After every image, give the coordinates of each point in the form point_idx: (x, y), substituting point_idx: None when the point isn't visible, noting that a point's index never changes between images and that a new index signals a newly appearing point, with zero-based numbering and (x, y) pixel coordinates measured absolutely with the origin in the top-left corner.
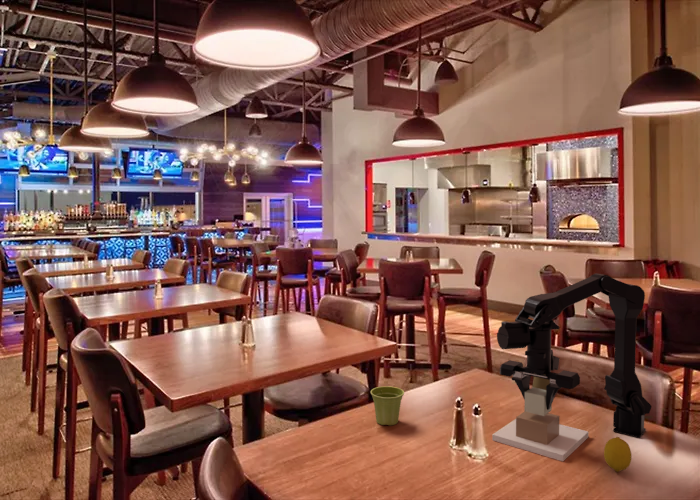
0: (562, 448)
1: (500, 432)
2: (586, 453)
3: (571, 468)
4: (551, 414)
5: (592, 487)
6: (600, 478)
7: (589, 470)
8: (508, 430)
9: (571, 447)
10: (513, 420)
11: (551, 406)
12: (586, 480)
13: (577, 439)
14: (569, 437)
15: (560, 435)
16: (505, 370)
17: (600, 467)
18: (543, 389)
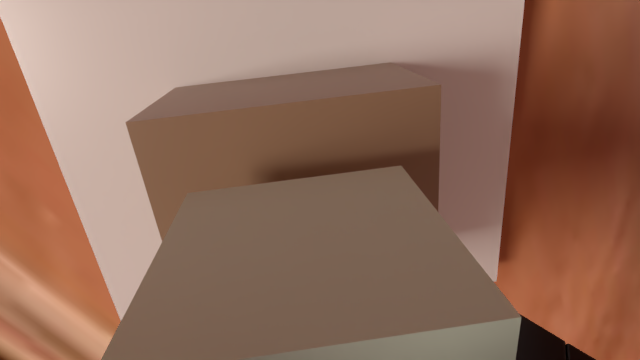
0: (472, 223)
1: (131, 288)
2: (552, 106)
3: (526, 287)
4: (368, 108)
5: (615, 346)
6: (635, 278)
7: (591, 253)
8: (138, 236)
9: (506, 177)
10: (20, 65)
11: (415, 186)
12: (591, 323)
13: (507, 42)
14: (457, 51)
15: (402, 67)
16: None
17: (628, 198)
18: (341, 346)
